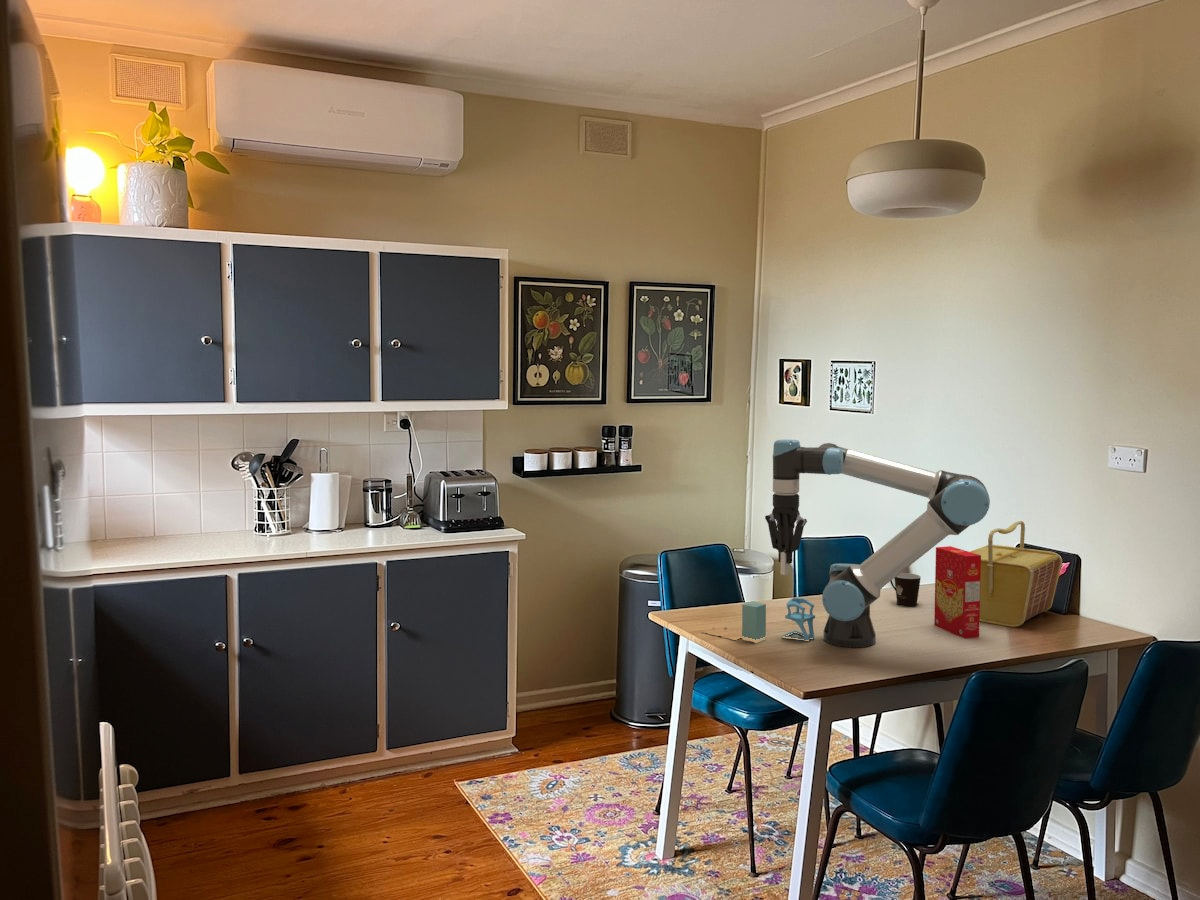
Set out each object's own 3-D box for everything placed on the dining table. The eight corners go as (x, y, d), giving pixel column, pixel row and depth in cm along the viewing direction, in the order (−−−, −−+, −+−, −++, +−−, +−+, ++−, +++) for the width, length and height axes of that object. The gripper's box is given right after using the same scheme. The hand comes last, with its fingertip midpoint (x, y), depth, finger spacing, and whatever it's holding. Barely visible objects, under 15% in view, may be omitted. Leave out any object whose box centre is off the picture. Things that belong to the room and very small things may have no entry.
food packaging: (934, 625, 289) (935, 547, 286) (948, 624, 290) (950, 546, 288) (963, 638, 274) (965, 556, 272) (979, 637, 276) (981, 555, 274)
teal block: (765, 640, 275) (765, 604, 274) (756, 643, 271) (756, 607, 270) (752, 636, 278) (752, 601, 277) (742, 640, 275) (742, 604, 274)
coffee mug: (923, 607, 310) (924, 578, 309) (898, 607, 310) (898, 578, 309) (912, 599, 322) (912, 571, 321) (887, 599, 322) (888, 571, 321)
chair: (805, 644, 271) (805, 604, 270) (781, 638, 276) (781, 599, 275) (818, 638, 276) (819, 599, 275) (794, 633, 282) (795, 594, 281)
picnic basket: (982, 600, 318) (985, 515, 316) (1062, 613, 301) (1065, 523, 298) (947, 617, 298) (949, 526, 295) (1030, 632, 280) (1032, 535, 277)
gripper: (812, 494, 261) (811, 575, 263) (774, 490, 271) (773, 568, 273) (798, 496, 256) (797, 579, 258) (759, 492, 265) (759, 572, 267)
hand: (785, 573), depth 265 cm, fingers closed
